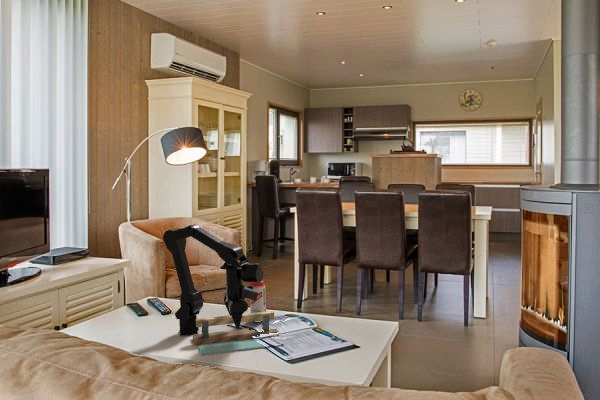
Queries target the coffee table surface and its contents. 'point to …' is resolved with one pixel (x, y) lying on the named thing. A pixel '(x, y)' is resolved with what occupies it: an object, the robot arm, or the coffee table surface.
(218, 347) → the teal mat
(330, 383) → the coffee table surface
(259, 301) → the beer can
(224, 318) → the oak rail
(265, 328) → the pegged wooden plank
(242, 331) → the walnut board
